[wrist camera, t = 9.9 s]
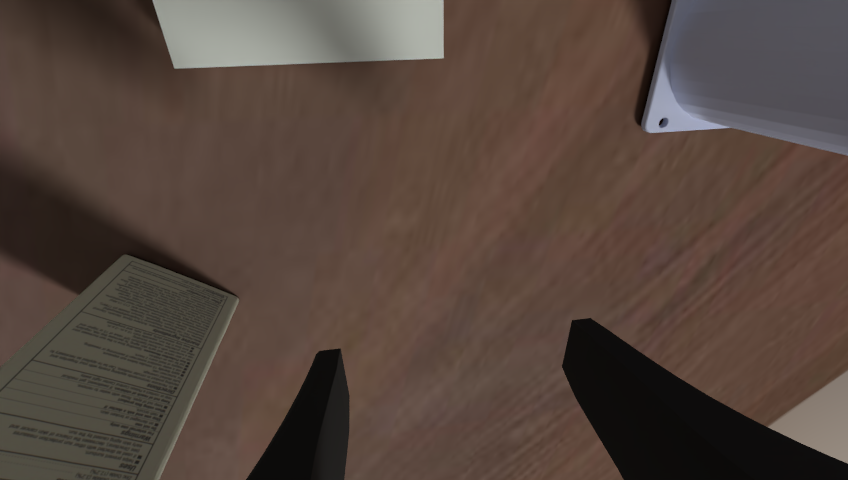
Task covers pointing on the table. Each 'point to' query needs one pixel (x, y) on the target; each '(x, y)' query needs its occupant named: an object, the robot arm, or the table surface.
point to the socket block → (299, 31)
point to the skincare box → (111, 377)
